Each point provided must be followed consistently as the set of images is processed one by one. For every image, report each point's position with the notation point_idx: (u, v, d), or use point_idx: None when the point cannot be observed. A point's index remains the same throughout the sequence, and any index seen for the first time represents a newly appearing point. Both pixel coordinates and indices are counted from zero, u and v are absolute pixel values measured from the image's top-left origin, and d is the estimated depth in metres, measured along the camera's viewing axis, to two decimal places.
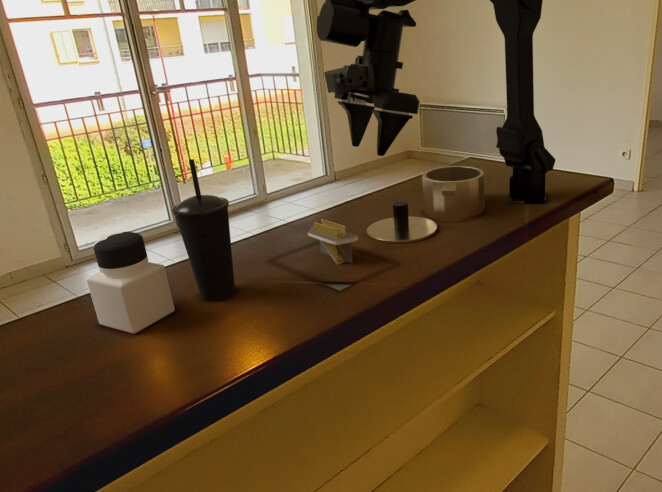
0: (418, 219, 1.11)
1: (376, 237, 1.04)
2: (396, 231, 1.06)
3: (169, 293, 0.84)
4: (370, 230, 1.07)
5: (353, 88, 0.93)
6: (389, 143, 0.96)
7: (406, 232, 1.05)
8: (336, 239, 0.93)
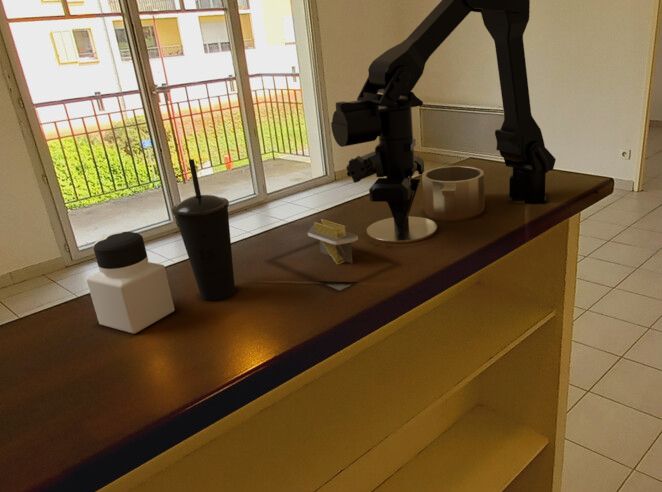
0: (418, 219, 1.11)
1: (376, 237, 1.04)
2: (396, 231, 1.06)
3: (169, 293, 0.84)
4: (370, 230, 1.07)
5: (365, 176, 1.02)
6: (404, 217, 1.04)
7: (406, 232, 1.05)
8: (336, 239, 0.93)
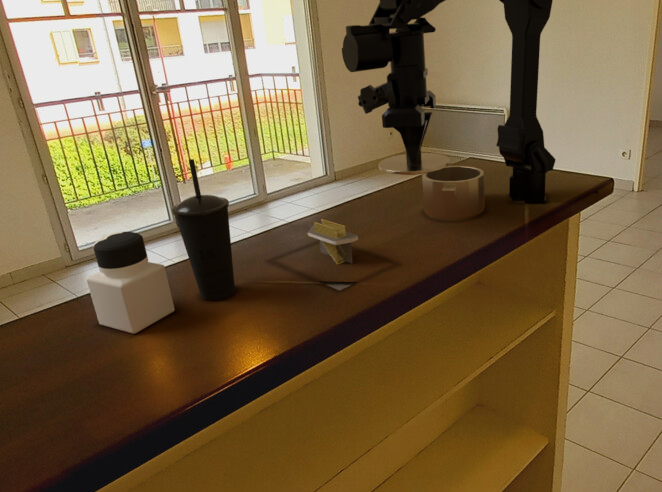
0: (430, 154, 1.09)
1: (388, 169, 1.02)
2: (408, 164, 1.04)
3: (169, 293, 0.84)
4: (382, 164, 1.05)
5: (377, 106, 1.00)
6: (417, 149, 1.02)
7: (419, 164, 1.03)
8: (336, 239, 0.93)
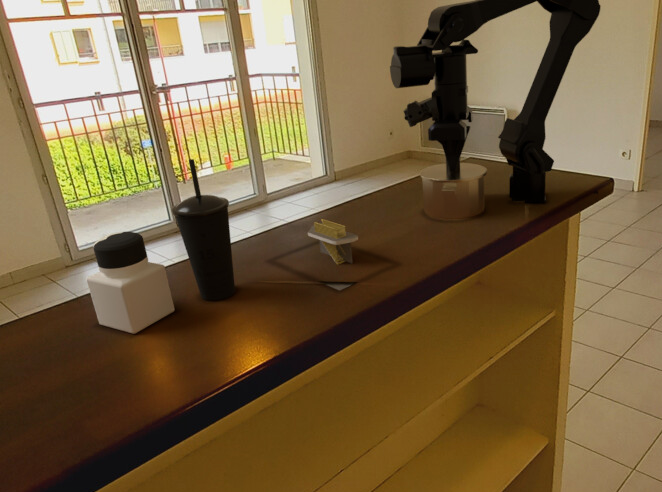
0: (467, 164, 1.17)
1: (430, 177, 1.11)
2: (448, 173, 1.12)
3: (169, 293, 0.84)
4: (423, 173, 1.14)
5: (421, 120, 1.09)
6: (457, 160, 1.11)
7: (458, 174, 1.12)
8: (336, 239, 0.93)
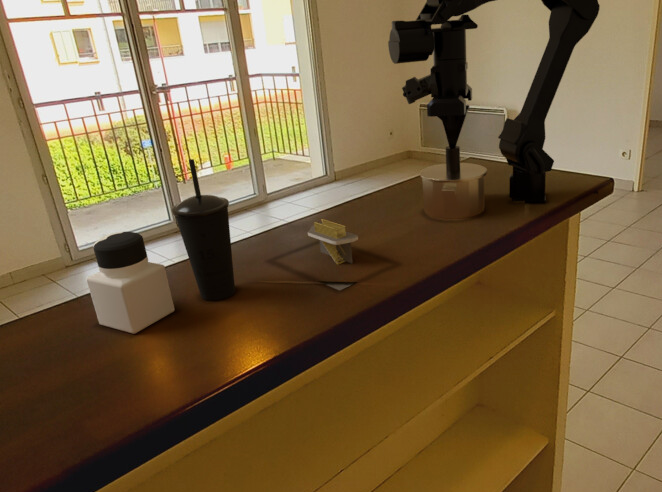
0: (467, 164, 1.17)
1: (430, 177, 1.11)
2: (448, 173, 1.12)
3: (169, 293, 0.84)
4: (423, 173, 1.14)
5: (420, 97, 1.07)
6: (457, 136, 1.10)
7: (458, 174, 1.12)
8: (336, 239, 0.93)
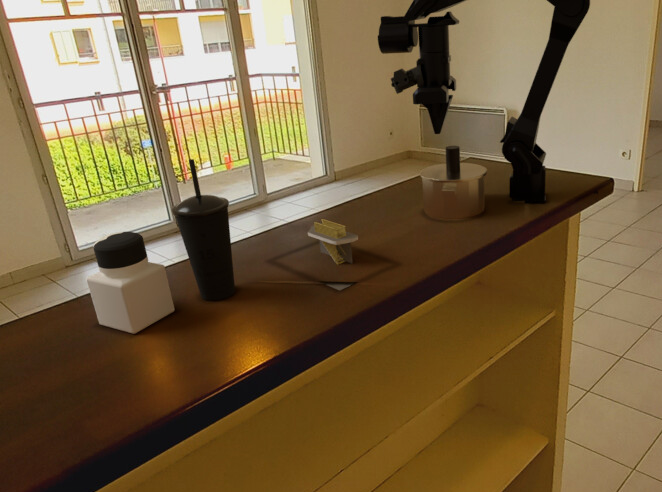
0: (467, 164, 1.17)
1: (430, 177, 1.11)
2: (448, 173, 1.12)
3: (169, 293, 0.84)
4: (423, 173, 1.14)
5: (407, 87, 1.17)
6: (441, 123, 1.20)
7: (458, 174, 1.12)
8: (336, 239, 0.93)
